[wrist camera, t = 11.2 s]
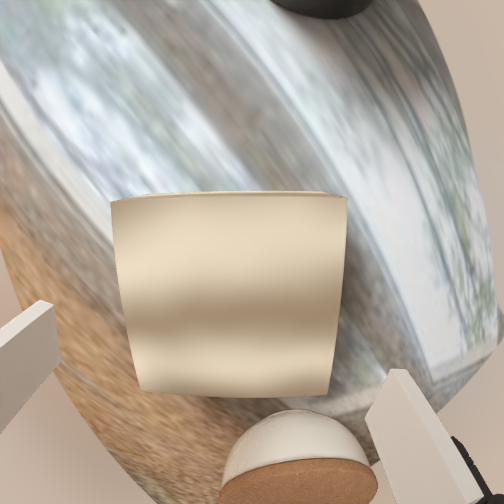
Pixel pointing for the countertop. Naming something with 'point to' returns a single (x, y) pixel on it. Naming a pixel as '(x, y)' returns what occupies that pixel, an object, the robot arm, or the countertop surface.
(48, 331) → the robot arm
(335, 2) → the black cup
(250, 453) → the lidded bowl
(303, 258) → the riser block
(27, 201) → the countertop surface
